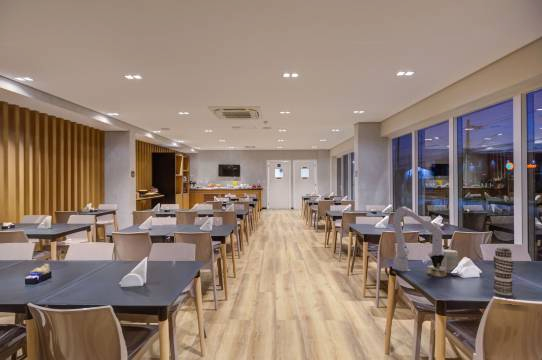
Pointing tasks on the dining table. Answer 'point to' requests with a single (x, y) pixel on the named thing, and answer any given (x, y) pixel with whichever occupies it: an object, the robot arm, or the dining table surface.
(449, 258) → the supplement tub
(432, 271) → the box
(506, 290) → the decorative candle
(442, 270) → the lid
